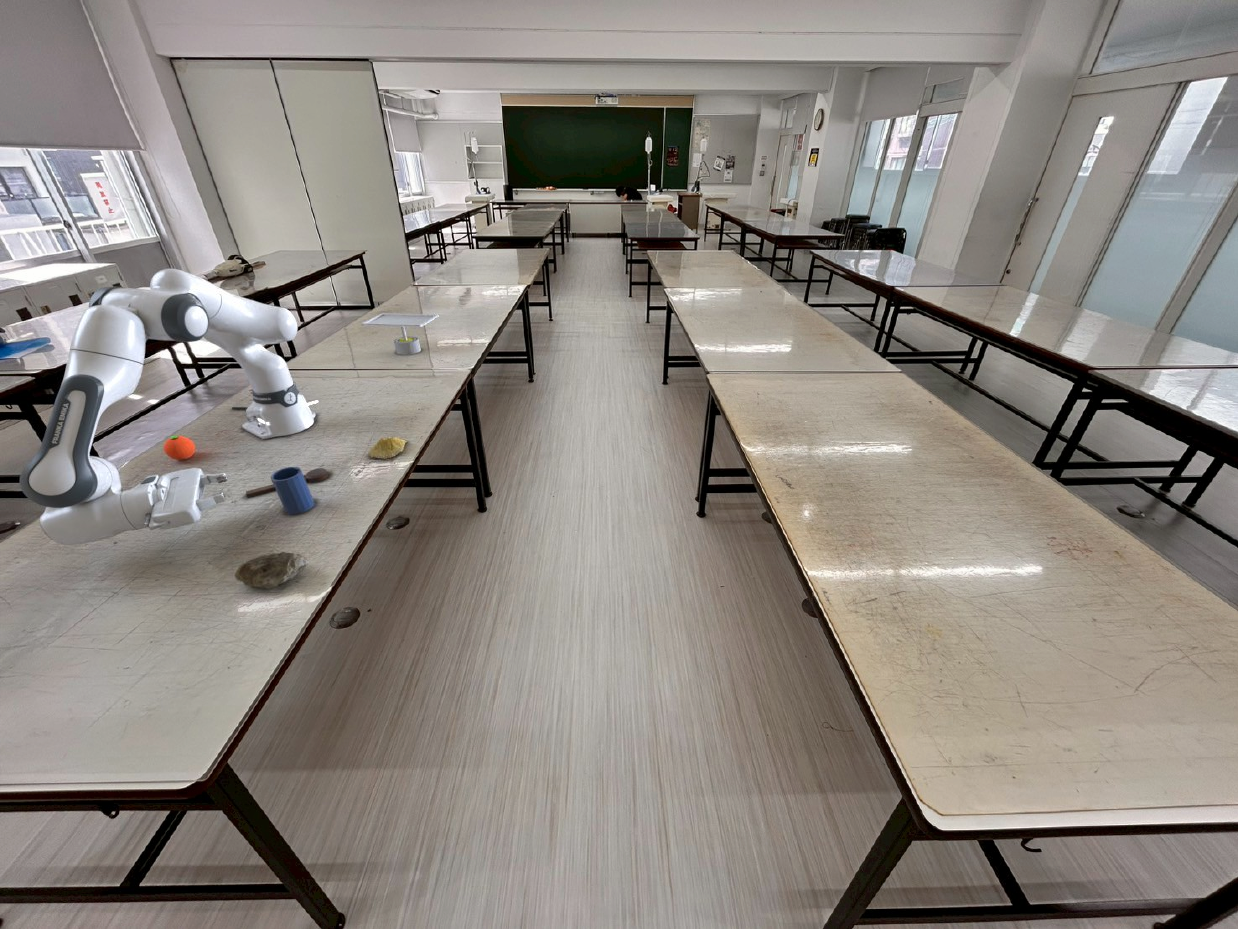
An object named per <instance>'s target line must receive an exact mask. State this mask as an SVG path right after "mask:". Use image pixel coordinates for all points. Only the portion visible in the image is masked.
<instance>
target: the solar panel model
mask: <svg viewBox="0 0 1238 929" xmlns="http://www.w3.org/2000/svg"><path fill="white" fill-rule="evenodd" d="M439 317H440V316H439V314H431V313H430V314H429V313H428V314H425V313H389V312H388V313H387V312H386V313H385V312H381V313H379V314H377V315H375V316H373V317H371V318H369V319H367V320H365V321H363V322H361V323H360V326H361V327H387V328H388V327H391V328H395V327H396V328H400V329H401V333H402V337H397V338H395V339H394V340H393V344H394V348H395V352H396V354H398V355H403V356H406V355H407V356H408V355H415V354H418V353H420V352H421V351H422V348H421V344H420V340H419V338H418V336H417V337H416V336H407V332H406V329H405V328H422V327H424V326H425V325H427V324H428V323H431V322H432V321H433V320H435V319H437V318H439Z"/></svg>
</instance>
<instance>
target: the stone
mask: <svg viewBox="0 0 1238 929" xmlns="http://www.w3.org/2000/svg"><path fill="white" fill-rule="evenodd" d="M308 564H309V559H308V557H307V556H305V555H302V554H301V553H298V552H287V551H281V552H269V553H266V554H261V555H259V556H256V557H254V558H252V559H250V560H249V559H248V560H247V561H245V562H244V563H242V564H240V565H239V566H238V568H237V569H236V571H235V573H234V574H233V576H234V578H235V580H236V581H239V582H240V583H243V584H244V586H246V587H247V586H248V587H252V588H262V589H267V590H270V589H272V588H273V589H274V588H277V587H281V586H282V585H284V584H285V583H286V582H288V581H291V580H292V579H294V578H296V576H297V575H298V574H299V573H301V572H302V571H304V570H305V568H306V567H307V565H308Z"/></svg>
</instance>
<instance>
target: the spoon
mask: <svg viewBox="0 0 1238 929" xmlns="http://www.w3.org/2000/svg"><path fill="white" fill-rule="evenodd" d="M303 476H304V478H305V481H306V483H319V482H321V481H324V480H326V479H327V478H328V476H329V473H328V471H327V469H326V468H323V467H319V468H314V469H311V470H309V471H308V472H306V474H303ZM273 491H276V489H275V487H274V485H273V483H272V484H269V485H265V486H262V487H257V488H254V489H250V490H246V491H245V496H246V497H247V498H252V497H255V496H259V495H262V494H266V493H271V492H273Z"/></svg>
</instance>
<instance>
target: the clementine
mask: <svg viewBox="0 0 1238 929" xmlns="http://www.w3.org/2000/svg"><path fill="white" fill-rule="evenodd" d="M163 451H164V453H165V454H166V456H167V457H169V458H170V459H173V460H175V461H176V460H177V461H182V460H187V459H189V458H191V457H193V455H194V454H195V451H196V446H195V443H194V441H193V440H191V439H190V438H188V437H186V436H183V435H182V436H181V435H173V436H170V438H168V439H167V440H166V441H165V442H164V444H163Z"/></svg>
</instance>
